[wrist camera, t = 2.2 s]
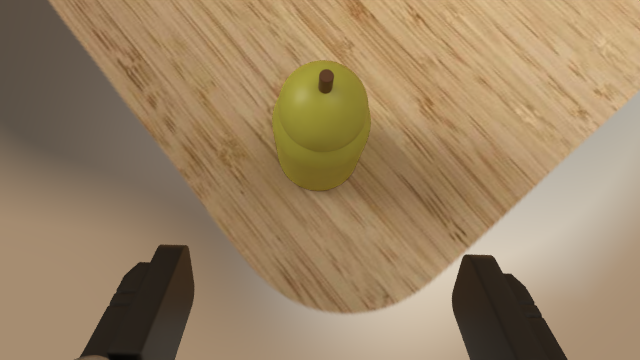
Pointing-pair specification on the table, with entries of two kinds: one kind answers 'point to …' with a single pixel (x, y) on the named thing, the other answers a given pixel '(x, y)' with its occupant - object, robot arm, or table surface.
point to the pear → (321, 124)
